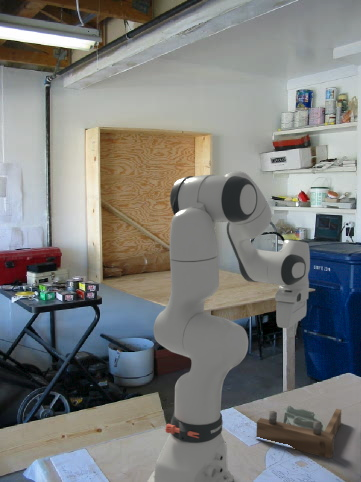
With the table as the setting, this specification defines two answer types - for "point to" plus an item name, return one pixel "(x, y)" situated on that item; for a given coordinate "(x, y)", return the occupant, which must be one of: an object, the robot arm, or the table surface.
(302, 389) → the table surface
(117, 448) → the table surface
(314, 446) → the bench stop
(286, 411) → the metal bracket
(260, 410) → the table surface
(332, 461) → the table surface
